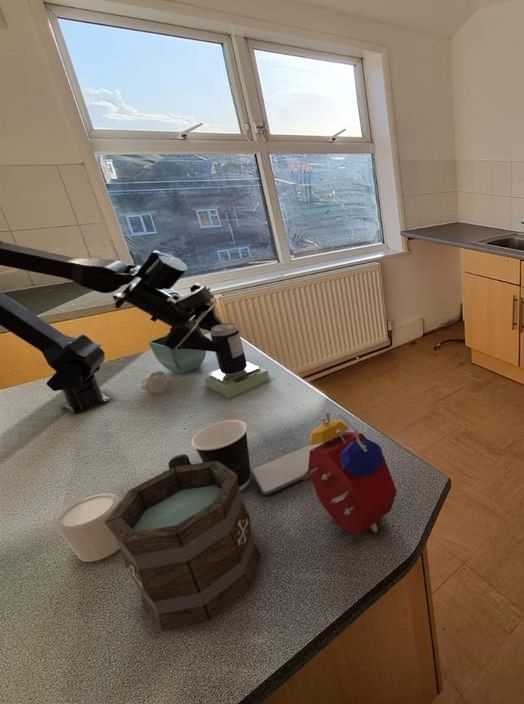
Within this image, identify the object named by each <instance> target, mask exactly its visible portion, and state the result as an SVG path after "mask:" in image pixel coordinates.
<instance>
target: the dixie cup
mask: <svg viewBox="0 0 524 704" xmlns="http://www.w3.org/2000/svg"><path fill="white" fill-rule="evenodd" d="M247 431H248V425H247V423H245V421H242V420H239V419H227V420H222V421H217V422H214V423H212V424H210V425H207V426H205V427H204V428H202V429H200V430H198V431H197V432H196V433H195V434H194V435H193V437H192V438H191V446H192V447H193V448H194V449H195V450H196V452H197V454H198V455H199V458H200V460H201V461H202V463H205V462H213V461H218V462H220V463H221V464H223V465H224V466H226V467H227V468H228V469H230V470H231V471H233V472H234V473H236V474H237V475H238V483H239V491H240V492H241V491H242V490H244V489H246V488H247V486H249V484H250V483H251V482H250V481H251V476H252V474H251V463H250V453H249V445H248V436H247Z"/></svg>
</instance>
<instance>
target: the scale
mask: <svg viewBox="0 0 524 704" xmlns="http://www.w3.org/2000/svg"><path fill="white" fill-rule="evenodd" d="M246 362H248V363H250V364H252V365H255V366H257V367H259V368H260V370H258V371H255V372H253V373H251V374H248V375H246V376H244V377H241V378H239V379H237V380H234V381H232V382H230V383H227V384H225V383H223V382H221V381H218V380H216V379H214V378H212V377H210V376H209V375H205V376H203V378H204V381H205V385H206V387H207V388H209V389H211V390H212V391H214V392H217V393H219V394H220V395H223V396H224V397H227V398H229V399H230V398H233V397H235V396H237V395H239V394H242V393H244V392H246V391H248V390H251V389H253V388H254V387H257V386H259V385H261V384H264V383H266V382H268V381H270V375H269V372H268V370H267V369H265V368H263V367H261V366H258V365H256V364H254V363H252V362H249V361H247V360H246Z"/></svg>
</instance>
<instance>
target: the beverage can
mask: <svg viewBox="0 0 524 704" xmlns="http://www.w3.org/2000/svg"><path fill="white" fill-rule="evenodd" d="M211 330H212V331H210V338H211V340H212V341H213V342H215V343H216V344H217V345H219V346H220V347H221V348H222V350H221V351H220V352H214V354H215V356H216V360H217V364H218V367H219V369H220V371H221V372H222V373H224V374H226V375H236V374H239V373H241V372H243V371H244V369H245V368H246V367H247V362H248V361H247V359H246V355H245V351H244V346H243V342H242V338H241V334H240V330H239V328H238V327H237V325H236V324H235V323H233V322H223V324H219V325H216V326H214V327H212V328H211ZM246 361H247V362H246Z"/></svg>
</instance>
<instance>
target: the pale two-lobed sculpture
mask: <svg viewBox="0 0 524 704" xmlns="http://www.w3.org/2000/svg"><path fill="white" fill-rule="evenodd" d="M166 378H167V374H166V373H165V372H164V371H163V370H154V371H151V372H149V373H148V374H146V375H145V376H144V377H143V378H142V379H141V382H142V385H141V389H142V390H146V391H149V392H151V393H152V394H163V393H164V392H166V391H167V390H168V383H167V381H166V380H167V379H166Z"/></svg>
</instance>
